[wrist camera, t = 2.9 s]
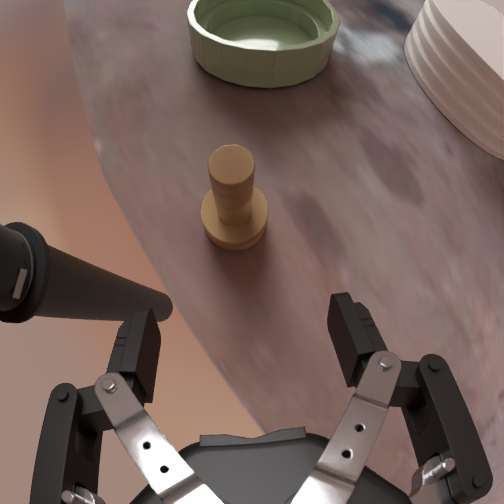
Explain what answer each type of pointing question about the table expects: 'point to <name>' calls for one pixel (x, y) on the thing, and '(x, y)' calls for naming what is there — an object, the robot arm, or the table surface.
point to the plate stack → (462, 66)
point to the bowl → (262, 39)
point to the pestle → (233, 200)
